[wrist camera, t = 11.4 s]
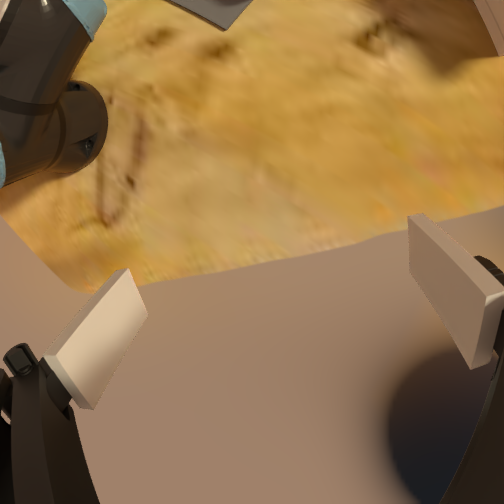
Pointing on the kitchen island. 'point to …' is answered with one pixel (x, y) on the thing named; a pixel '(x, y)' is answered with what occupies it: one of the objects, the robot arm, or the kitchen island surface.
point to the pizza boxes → (493, 21)
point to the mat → (216, 9)
